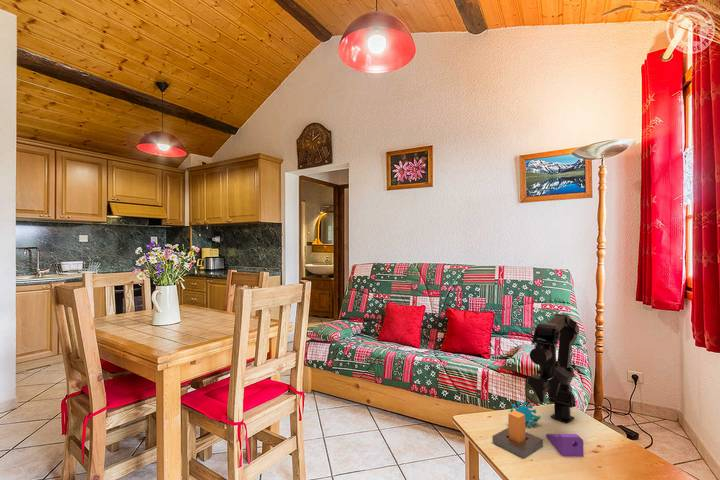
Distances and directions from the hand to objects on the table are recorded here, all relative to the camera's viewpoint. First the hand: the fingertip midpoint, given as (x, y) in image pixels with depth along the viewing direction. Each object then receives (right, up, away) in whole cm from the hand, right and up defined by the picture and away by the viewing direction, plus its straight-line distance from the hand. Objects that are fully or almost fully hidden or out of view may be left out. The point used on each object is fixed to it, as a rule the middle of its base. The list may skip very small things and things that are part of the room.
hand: (548, 399), depth 138 cm
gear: (-5, -13, +8) cm, 16 cm away
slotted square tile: (-15, -13, -7) cm, 21 cm away
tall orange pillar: (-15, -13, -7) cm, 21 cm away
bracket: (+1, -14, -8) cm, 16 cm away
